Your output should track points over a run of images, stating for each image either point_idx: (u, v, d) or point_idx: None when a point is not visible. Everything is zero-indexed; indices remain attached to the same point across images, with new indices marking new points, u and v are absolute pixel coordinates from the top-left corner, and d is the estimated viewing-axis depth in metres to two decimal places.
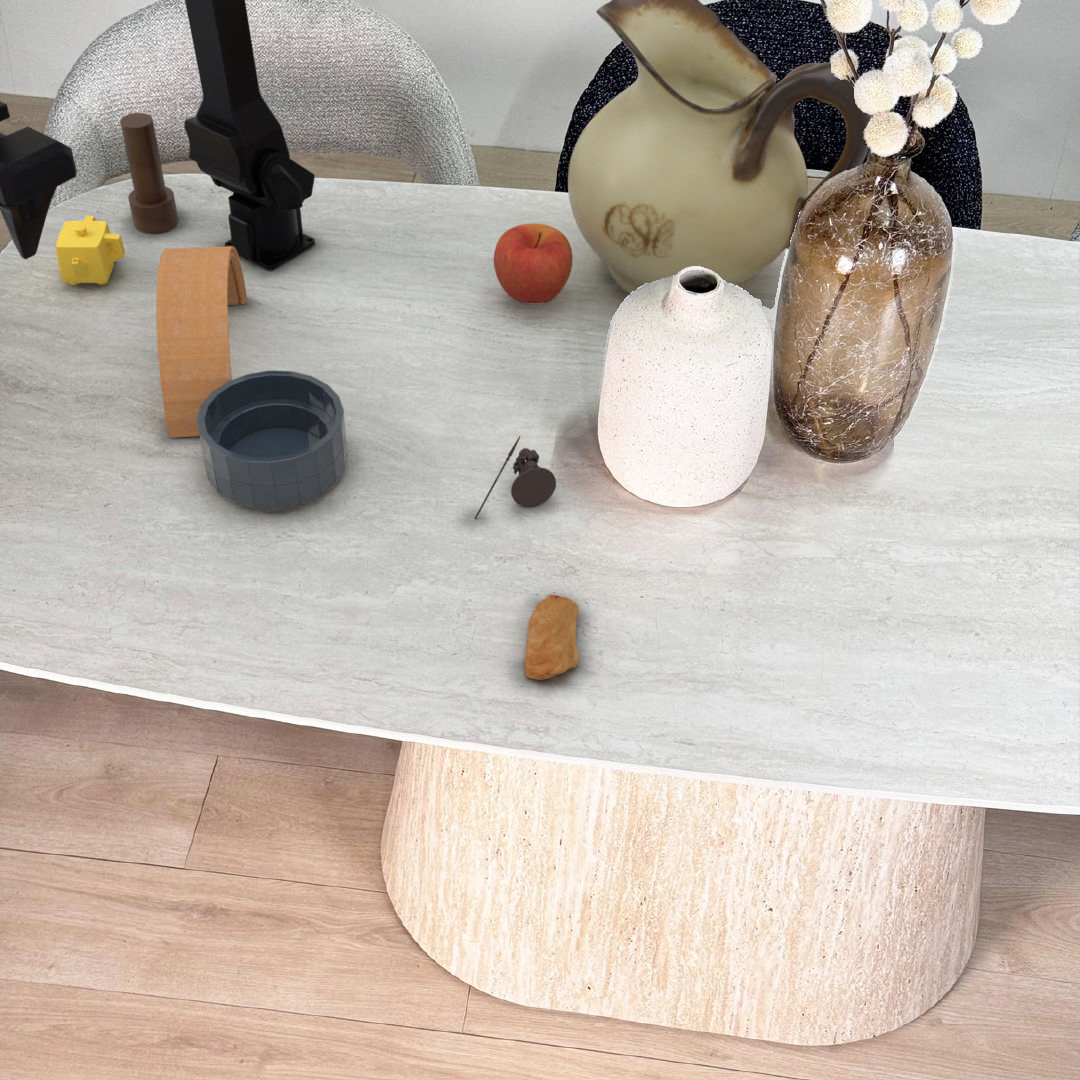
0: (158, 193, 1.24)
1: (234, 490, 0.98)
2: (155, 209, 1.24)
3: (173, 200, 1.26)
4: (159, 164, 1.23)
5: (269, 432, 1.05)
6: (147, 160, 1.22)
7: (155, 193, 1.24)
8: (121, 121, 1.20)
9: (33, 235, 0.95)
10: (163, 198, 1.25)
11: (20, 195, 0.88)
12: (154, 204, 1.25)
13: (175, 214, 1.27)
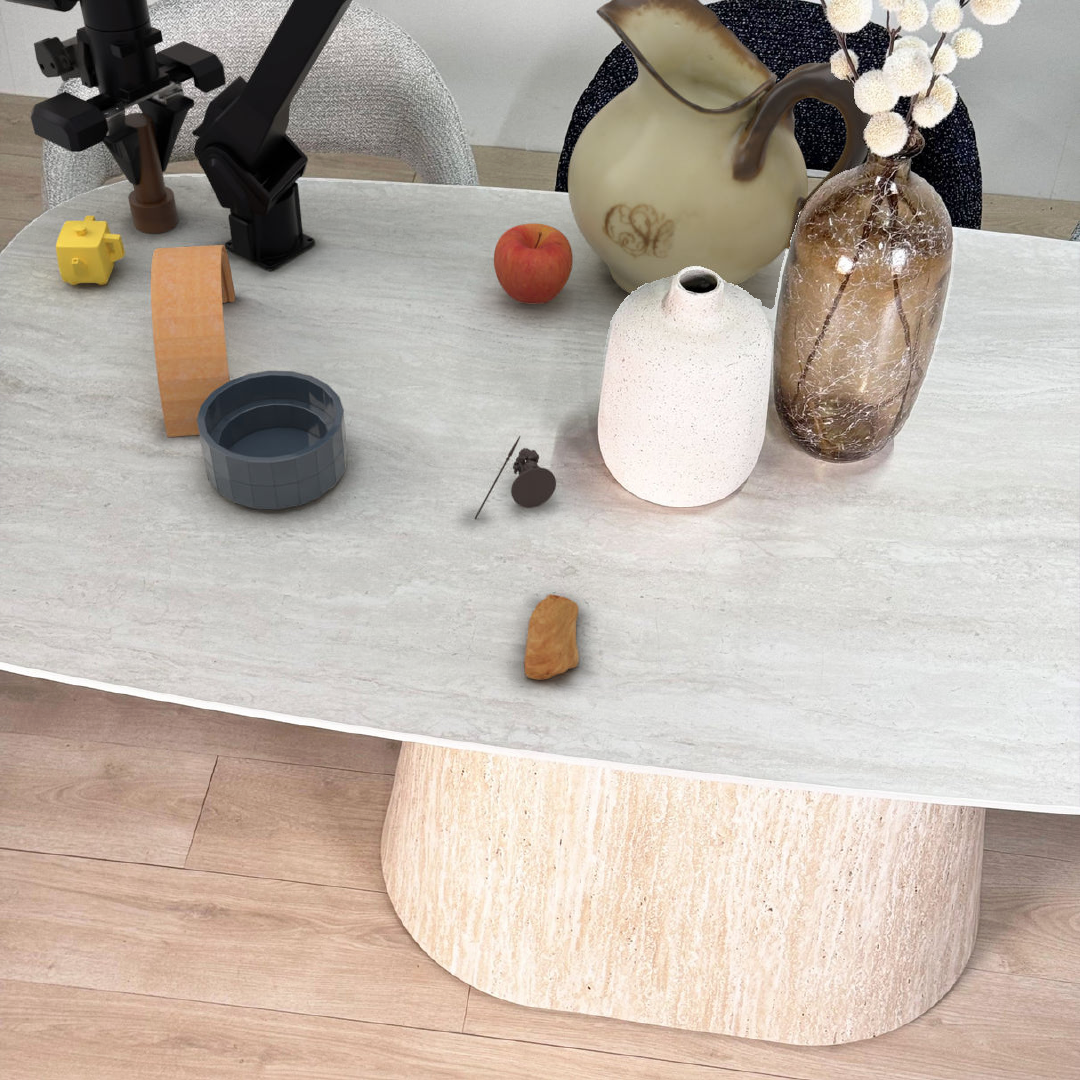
0: (158, 193, 1.24)
1: (234, 490, 0.98)
2: (154, 209, 1.24)
3: (173, 200, 1.26)
4: (159, 164, 1.23)
5: (269, 432, 1.05)
6: (147, 160, 1.22)
7: (155, 193, 1.24)
8: None
9: (127, 169, 1.21)
10: (163, 198, 1.25)
11: (36, 129, 1.14)
12: (154, 204, 1.25)
13: (175, 214, 1.27)
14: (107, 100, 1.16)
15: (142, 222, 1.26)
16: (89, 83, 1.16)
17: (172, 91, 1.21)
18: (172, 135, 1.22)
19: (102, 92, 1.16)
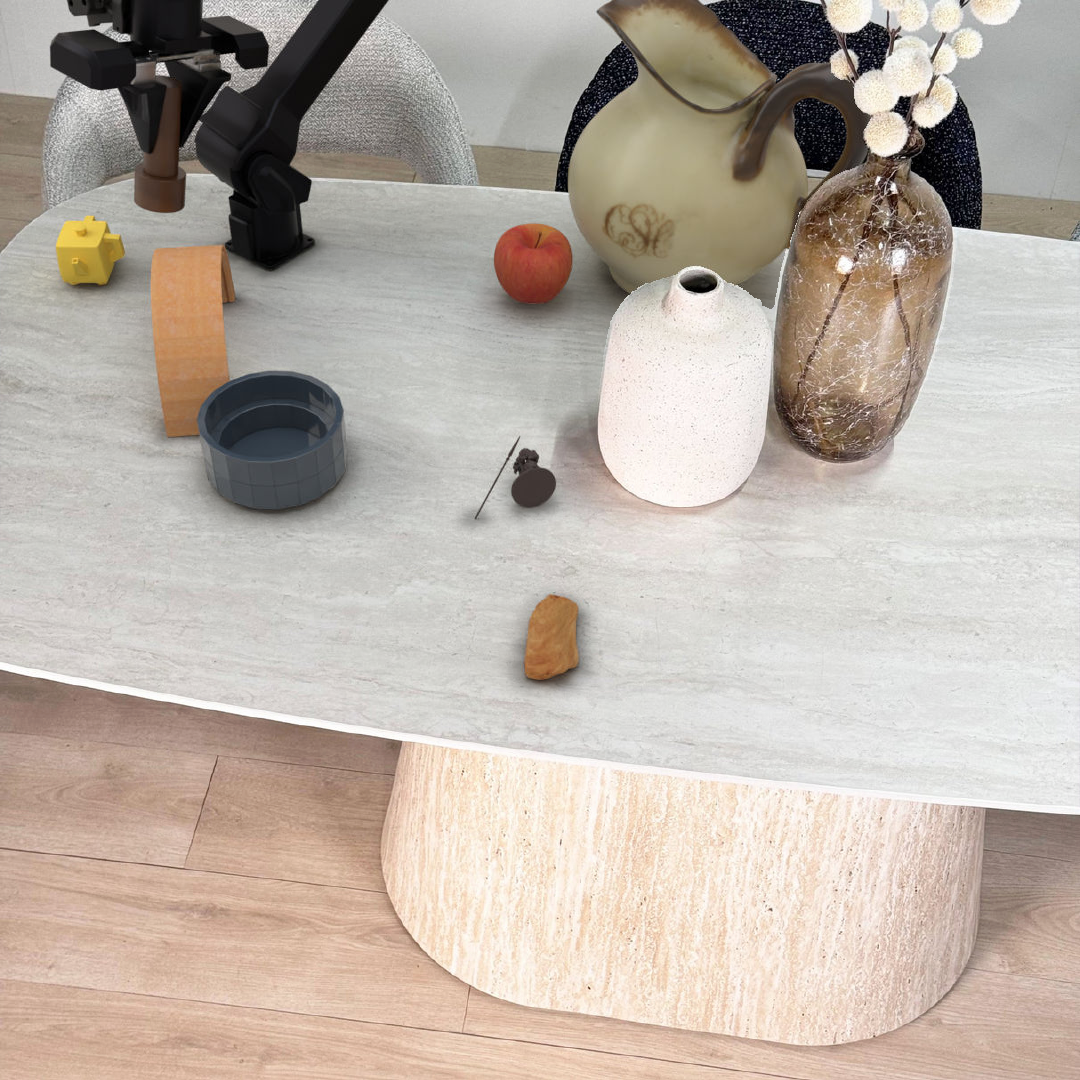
0: (171, 168, 1.11)
1: (234, 490, 0.98)
2: (163, 184, 1.11)
3: (184, 180, 1.13)
4: (178, 136, 1.10)
5: (269, 432, 1.05)
6: (167, 127, 1.09)
7: (167, 167, 1.11)
8: None
9: (142, 133, 1.08)
10: (174, 176, 1.12)
11: (53, 61, 1.01)
12: (163, 179, 1.11)
13: (183, 196, 1.13)
14: (138, 47, 1.03)
15: (145, 197, 1.12)
16: (121, 28, 1.04)
17: (209, 60, 1.09)
18: (200, 107, 1.10)
19: (134, 39, 1.04)
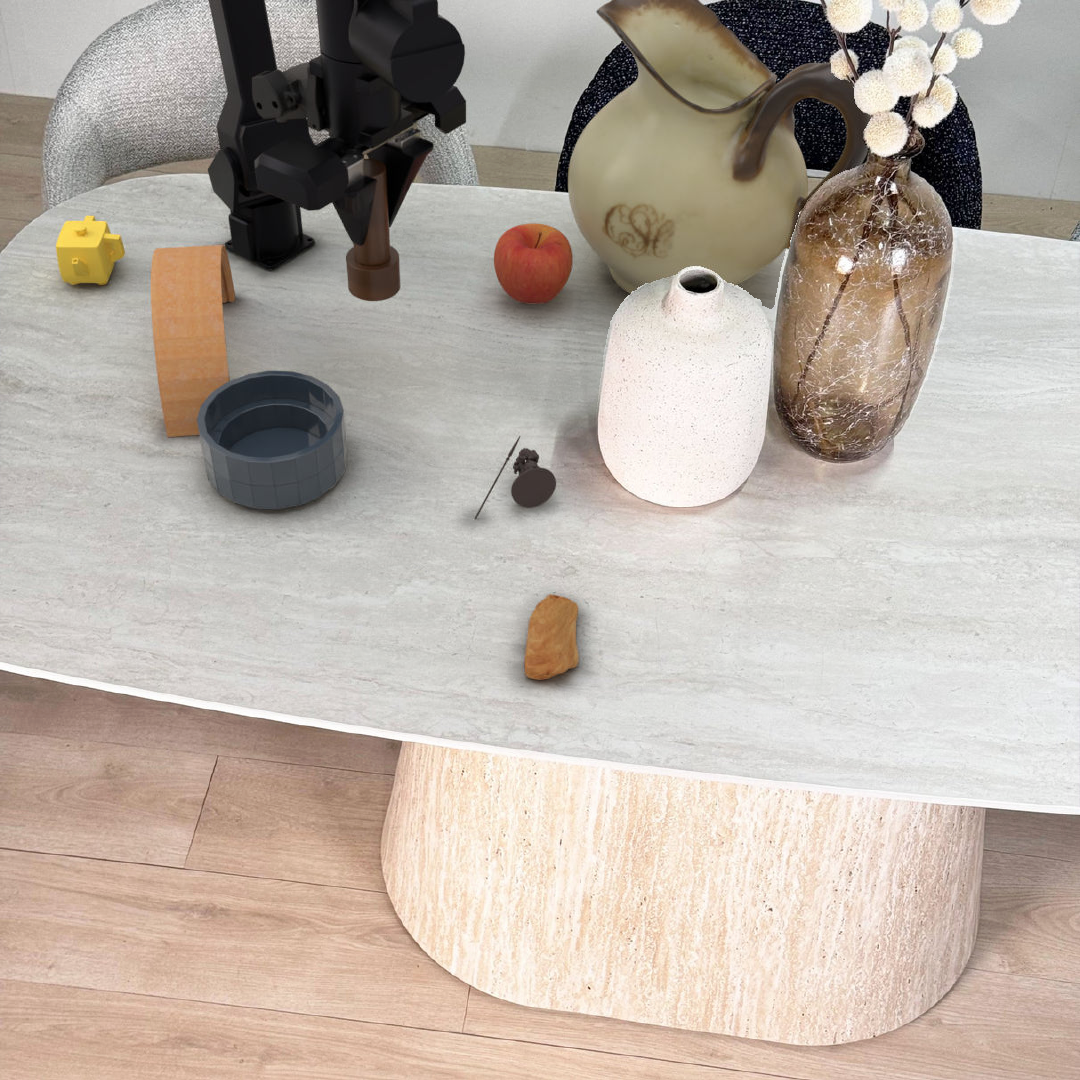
0: (384, 253, 1.04)
1: (234, 490, 0.98)
2: (380, 272, 1.04)
3: (398, 261, 1.05)
4: (388, 219, 1.02)
5: (269, 432, 1.05)
6: (377, 215, 1.01)
7: (381, 253, 1.03)
8: None
9: (353, 227, 1.01)
10: (387, 259, 1.05)
11: (260, 183, 0.93)
12: (379, 267, 1.04)
13: (399, 277, 1.06)
14: (342, 145, 0.95)
15: (363, 288, 1.05)
16: (318, 125, 0.96)
17: (408, 132, 1.00)
18: (406, 185, 1.01)
19: (335, 136, 0.95)
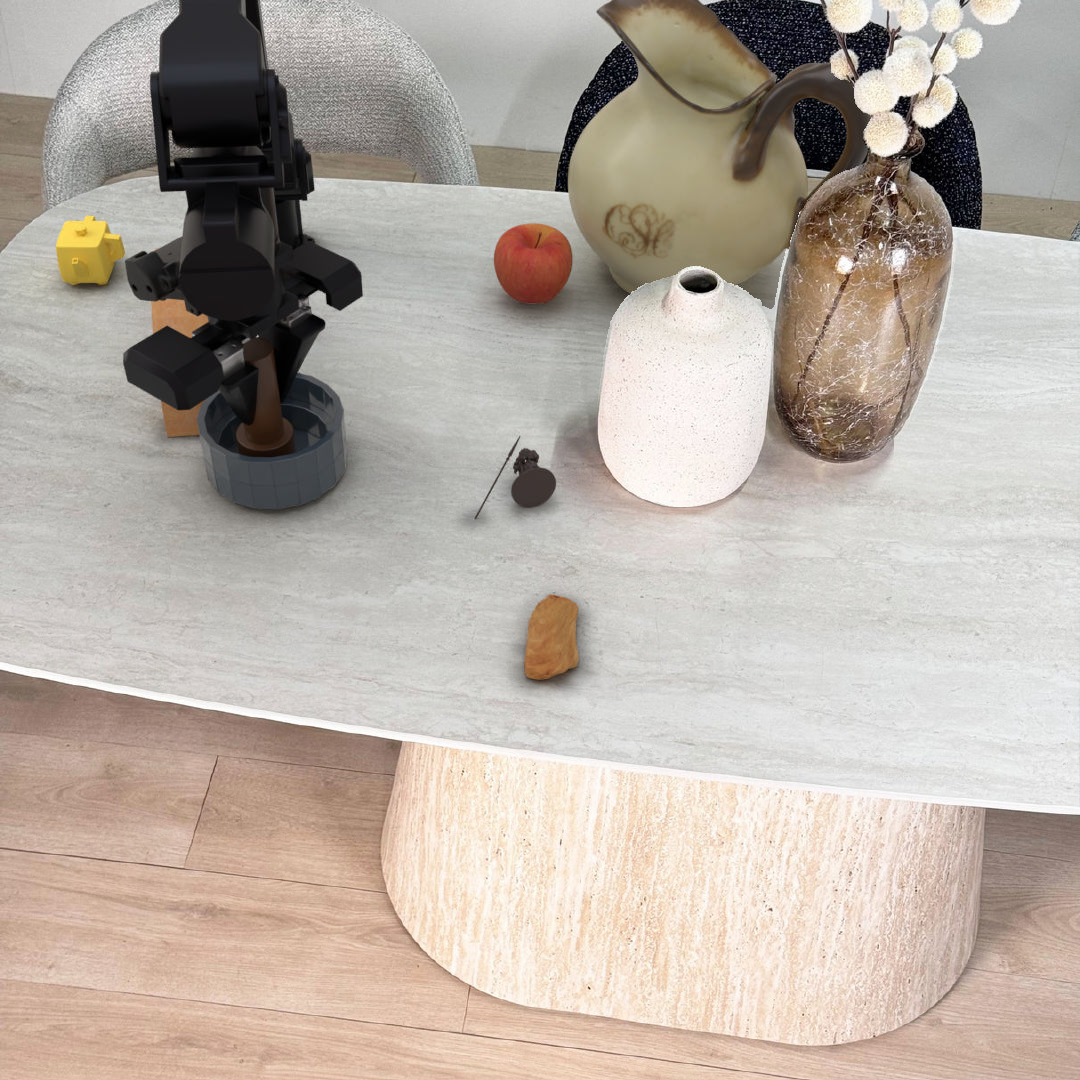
0: (276, 432, 0.98)
1: (234, 490, 0.98)
2: (271, 452, 0.98)
3: (292, 437, 0.99)
4: (278, 398, 0.96)
5: None
6: (265, 397, 0.95)
7: (272, 432, 0.97)
8: None
9: (239, 409, 0.95)
10: (280, 436, 0.99)
11: (130, 377, 0.87)
12: (270, 446, 0.98)
13: None
14: (220, 334, 0.89)
15: None
16: (196, 311, 0.90)
17: (298, 310, 0.94)
18: (296, 364, 0.95)
19: (213, 323, 0.89)
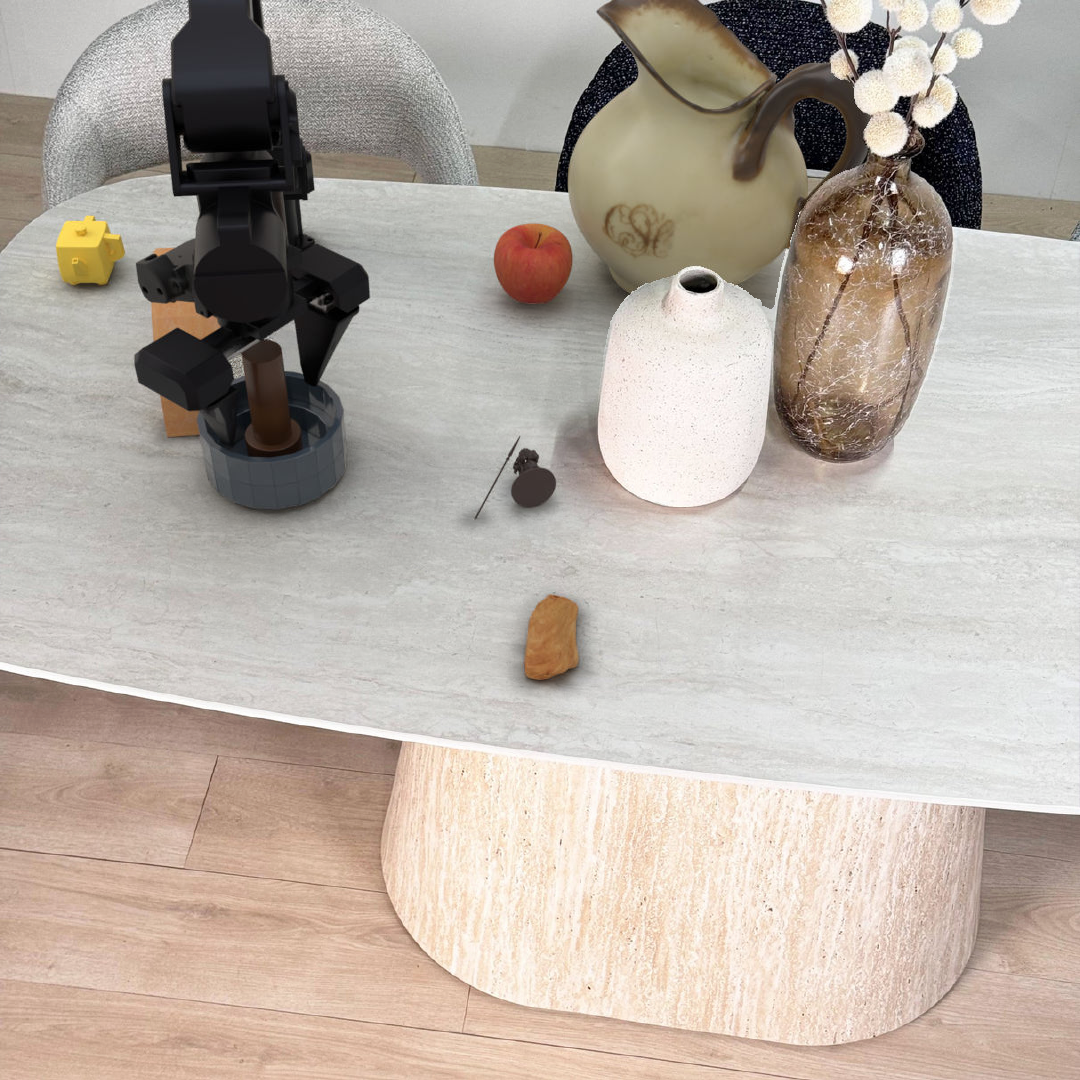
0: (284, 432, 0.99)
1: (234, 490, 0.98)
2: (279, 452, 0.99)
3: (300, 438, 1.00)
4: (286, 399, 0.98)
5: None
6: (273, 398, 0.96)
7: (280, 433, 0.99)
8: (242, 353, 0.94)
9: (219, 429, 0.94)
10: (288, 437, 1.00)
11: (140, 378, 0.88)
12: (278, 447, 0.99)
13: None
14: (229, 335, 0.90)
15: None
16: (206, 313, 0.91)
17: (333, 295, 0.97)
18: (331, 347, 0.98)
19: (223, 325, 0.90)
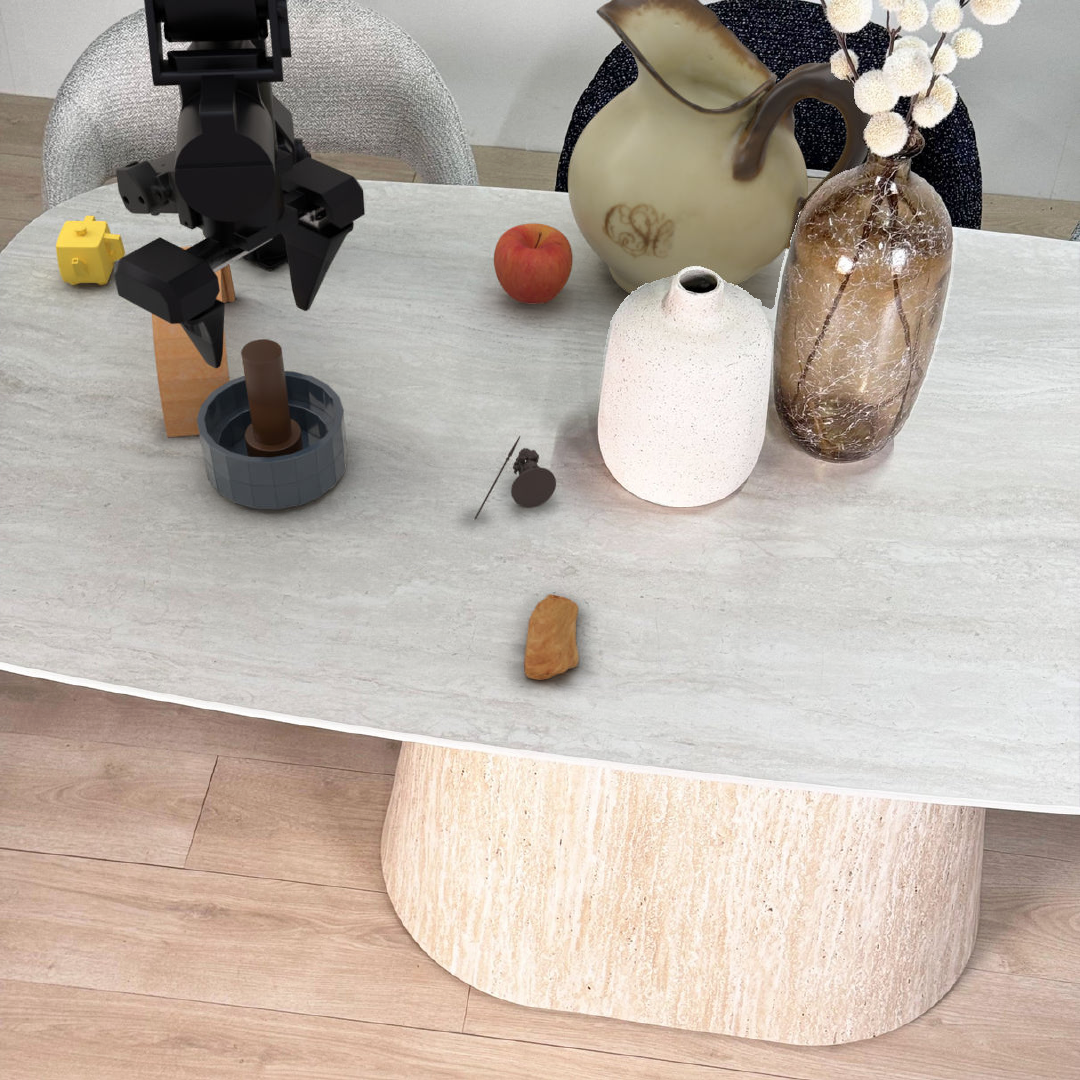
0: (284, 432, 0.99)
1: (234, 490, 0.98)
2: (279, 452, 0.99)
3: (300, 438, 1.00)
4: (286, 399, 0.98)
5: None
6: (273, 398, 0.96)
7: (280, 433, 0.99)
8: (242, 353, 0.94)
9: (205, 350, 0.89)
10: (288, 437, 1.00)
11: (121, 290, 0.83)
12: (278, 447, 0.99)
13: None
14: (215, 247, 0.85)
15: None
16: (191, 223, 0.86)
17: (325, 210, 0.92)
18: (323, 266, 0.93)
19: (209, 236, 0.85)
